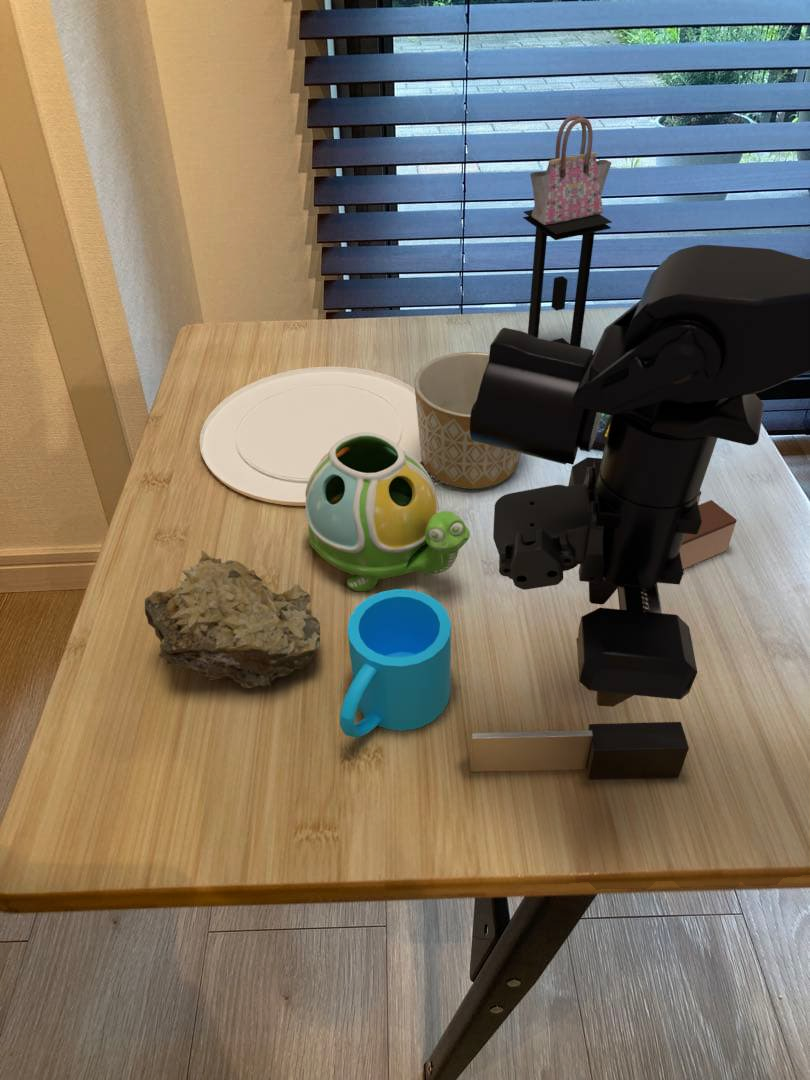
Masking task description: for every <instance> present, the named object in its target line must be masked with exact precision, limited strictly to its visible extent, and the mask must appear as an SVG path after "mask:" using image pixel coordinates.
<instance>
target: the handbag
mask: <svg viewBox="0 0 810 1080" xmlns="http://www.w3.org/2000/svg"><path fill="white" fill-rule="evenodd" d="M578 124H580V126H581V142H580V143H581V144H580V151H579V154H576V155H570V156H566V155H567V147H568V142H569V141H568V140H569V136H570V133H571V131H572V129H573V128H574V127H575V126H576V125H578ZM567 125H568V126H567ZM566 126H567V127H566ZM565 128H566V129H565ZM564 130H565V132H564ZM557 132H558V133H557V136H556V141H555V143H556V144H555V157H554V159H549V160H548V164H547V166H546V167H547V168H546V170H545V171H533V172H531V173H530V174H529V176H530V181H531V186H532V192H533V201H534V202H533V203H534V206H533V208H532V209H529V210H524V211H523V214H525V215H526V216H523V217H522V219H524V220H525V221H527V222H528V223H530V224H531V225H532V226H534V227H535V236H534V248H533V249H534V251H533V260H532V261H533V263H532V274H531V275H532V276H531V287H530V288H531V289H530V302H529V314H528V324H527V325H528V327H527V334H529V335H531V336H534V337H536V338H539V332H540V321H541V320H540V319H541V311H542V297H543V288H544V275H545V263H546V253H547V241H548V237H550V238H551V239H553V240H554V241H559V240H564V239H569V238H573V237H577V236H581V237H582V238H581V247H580V254H579V264H578V273H577V280H576V289H575V298H574V307H573V316H572V322H571V332H570V334H571V335H570V342H568V341H567V340H566V339H565V338H564V337H560V338H556V339H551V341H553V342H558V343H563V344H567V345H572V346H576V347H581V344H582V337H583V336H582V335H583V328H584V321H585V311H586V305H587V296H588V289H589V280H590V272H591V265H592V264H591V263H592V256H593V249H594V242H595V241H594V239H595V233H596V232H601V231H606V230H610V229H612V227H611V226H610V225H608V224H612V223H613V221H612V220H610V219H608V218H606V217H605V216H604V215H602V214H603V212H604V209H603V201H602V194H603V190H604V186H605V183H606V179H607V176H608V174H609V172H610V168H611V165H612V162H611V161H610V160H607V159H600V160H597V152H595V151H592V148H593V140H594V139H593V136H594V135H593V126H592V124H591V122H590V120H589V119H588V118H586V117H583V116H582V115H579V114H572V115H570V116H568V117H567V118H565V119H564V120H563V121H562V123H561V124H560V126H559V129H558V131H557ZM563 134H564V135H563ZM562 137H563V139H562ZM561 143H562V146H561ZM586 143H587V147H586ZM585 151H586V153H585ZM560 154H561V155H560ZM567 289H568V278H566V277H564V276H563V275H560V276H557V277H554V278H553V286H552V298H551V308H552V309H553V310H555V311H561V310H564V309H565V308H566V300H567V299H566V297H567Z"/></svg>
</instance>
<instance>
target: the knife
mask: <svg viewBox="0 0 810 1080" xmlns="http://www.w3.org/2000/svg"><path fill="white" fill-rule="evenodd" d="M587 727H588V728H587V729H586V730H551V731H550V730H549V731H545V730H544V731H508V732H506V731H505V732H503V731H502V732H472V733H471V734H470V735H471V736H470V758H469V771H470V773H481V772H482V773H486V772H527V771H568V770H569V771H570V770H573V771H574V770H575V771H576V770H585V771H586V775H587V776H586V777H587V780H588V781H597V780H640V779H647V780H648V779H678V778H680V776H681V773H682V770H683V767H684V764H685V761H686V758H687V756H688V752H689V749H690V747H689V744H688V740H687V735H686V733H685V730H684V727H683V723H682V722H681V721H660V722H659V721H655V722H654V721H653V722H615V723H614V722H613V723H612V722H610V723H607V722H606V723H589V724H588V726H587Z"/></svg>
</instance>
